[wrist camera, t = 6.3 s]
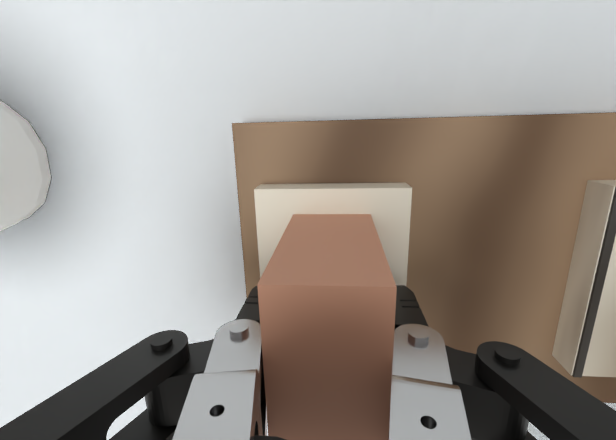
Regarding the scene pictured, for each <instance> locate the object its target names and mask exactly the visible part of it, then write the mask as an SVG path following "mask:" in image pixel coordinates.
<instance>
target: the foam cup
mask: <svg viewBox="0 0 616 440" xmlns="http://www.w3.org/2000/svg"><path fill="white" fill-rule="evenodd" d="M50 181H51V174H50V169H49V163H48V158H47V153H46V149H45V147H44V146H43V144H42V142H41V141H40V139H39V138H38V136H37V134H36V133H35V131H34V130H33V128H32V126H31V125H30V123H29V122H28V121H27V120H26V119H24V118H23V117H22V116H21V115H19V114H18V113H17V112H15V111H14V110H13V109H12V108H10V107H9V106H8V105H6V104H5V103H4V102H2V101H0V231H3V230H5V229H7V228H9V227H11V226H13V225H15V224H18V223H19V222H20V221H21V220H24V219H27V218H29V217H30V216H31V215H32V214H33V213H34V212H35V211H36V210H37V209H38V208H40V207H41V206H42V205H43V204H44V203H45V200H46V196H47V193H48V189H49V185H50Z"/></svg>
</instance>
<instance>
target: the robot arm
mask: <svg viewBox="0 0 616 440" xmlns="http://www.w3.org/2000/svg"><path fill="white" fill-rule="evenodd" d="M396 286H397V291H396V310H395V330H394V349H393V359H392V374H391V397H390V418H389V433H388V440H537V439H536V438H535V437H533V436H532V435H531V434H530V433H529V432H528V431H527V428H528V423H529V422H531V423H532V424H533V425H534V426H535V427H536V428H538V429H539V430H540V431H541V432H542V433H543V434H544V435H546V436H547V437H548V438H549V439H550V440H616V411H615V410H613V409H612V408H610V407H609V406H607V405H606V404H604V403H603V402H601V401H600V400H598V399H597V398H595V397H594V396H592V395H591V394H589V393H588V392H586V391H585V390H583V389H582V388H580V387H579V386H577V385H576V384H574V383H573V382H571V381H570V380H568V379H567V378H565V377H564V376H562V375H561V374H559V373H558V372H556V371H555V370H553V369H552V368H550V367H549V366H547V365H546V364H544V363H543V362H541V361H540V360H538V359H537V358H535V357H534V356H532V355H531V354H529V353H528V352H526V351H525V350H523V349H521V348H519V347H517V346H514V345H512V344H508V343H504V342H498V341H489V342H484V343H482V344H480V345H479V346H478V348H477V353H476V354H473V353H469V352H465V351H461V350H457V349H454V348H451V347H449V346H446V345H445V343H444V339H443V337H442V336H441V335H440V333H438V332H437V331H436V330H434V329H432V328H430V327H429V326H428V324H427V322H426V319H425V317H424V315H423V313H422V310H421V308H420V306H419V304H418V301H417V299H416V297H415V295H414V292H413V291H411V290H410V289H409V288H407V287H406V286H405V285H396ZM144 396H145V400H146V406H147V409H146V410H145V411H144V412H142V413H141V414H140V415H139V416H137V417H136V418H135V419H134V420H133V421H131V422H130V423H129V424H128V425H126V426H125V427H124V428H123V429H122V430H120V431H119V432H118V433H117V434H115V435H114V436H113V437H112V438H111V439H109V440H286V439H283V438H280V437H277V436H267V409H266V396H265V382H264V369H263V355H262V342H261V328H260V315H259V302H258V288H257V286H255V287H254V288H253V289H252V290H251V292H250V294H249V295H248V298H247V299H246V301H245V304H244V305H243V307H242V309H241V311H240V312H239V314H238V316H237V318H236V320H233V321H230V322H228V323H226V324H224V325H222V326H221V327H220V328H219V329H218V330H217V332H216V334H215V338H214V339H213V340H209V341H204V342H199V343H193V344H188V338H187V335H186V334H185V333H183V332H181V331H176V330H168V331H162V332H158V333H156V334H153V335H151V336H149V337H147V338H145V339H144V340H142V341H141V342H139V343H137V344H136V345H134V346H132V347H131V348H129V349H128V350H126V351H124V352H123V353H121V354H119V355H118V356H116V357H115V358H113V359H111V360H110V361H108V362H107V363H105V364H103V365H102V366H100V367H98V368H97V369H95V370H94V371H92V372H90V373H89V374H87V375H85V376H84V377H82V378H81V379H79V380H77V381H76V382H74V383H72V384H71V385H69V386H68V387H66V388H64V389H63V390H61V391H59V392H58V393H56V394H55V395H53V396H51V397H50V398H48V399H47V400H45V401H43V402H42V403H40V404H38V405H37V406H35V407H34V408H32V409H30V410H29V411H27V412H25V413H24V414H22V415H21V416H19V417H17V418H16V419H14V420H12V421H11V422H9V423H8V424H6V425H4V426H3V427H1V428H0V440H106V435H107V432H108V429H109V427H110V426H111V424H112V423H113V421H114V420H115V419H116V418H117V417H118V416H120V415H121V414H122V413H124V412H125V411H126V410H127V409H129V408H130V407H131V406H133V405H134V404H135V403H136V402H138V401H139V400H140V399H141V398H143V397H144Z"/></svg>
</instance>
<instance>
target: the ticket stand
mask: <svg viewBox="0 0 616 440" xmlns="http://www.w3.org/2000/svg"><path fill="white" fill-rule="evenodd" d="M232 130H233V141H234V153H235V165H236V177H237V189H238V200H239V212H240V224H241V236H242V248H243V259H244V271H245V283H246V295H247V298H248V295H249V294H250V292H251V290H252V289H253V288H254V287H255V286H257V284H258V282H259V280H260V268H259V254H258V240H257V226H256V212H255V198H254V189H255V188H256V187H258V186H259V185H260V184H323V183H407V184H408V185H409V186H411V187H412V200H411V217H410V233H409V250H408V266H407V283H406V287H407V288H409V289H410V290H411V291H413V292H414V295H415V297H416V299H417V301H418V304H419V306H420V308H421V310H422V313H423V315H424V317H425V319H426V322H427V324H428V326H429V327H430V328H432V329H434V330H436V331H437V332H438V333H440V335H441V336H442V337H443V339H444V343H445V345H446V346H449V347H451V348H454V349H457V350H461V351H465V352H469V353H473V354H476V353H477V348H478V346H479V345H480V344H482V343H484V342H489V341H498V342H504V343H508V344H512V345H514V346H517V347H519V348H521V349H523V350H525V351H526V352H528V353H529V354H531V355H532V356H534V357H535V358H537V359H538V360H540V361H541V362H543V363H544V364H546V365H547V366H549V367H550V368H552V369H553V370H555V371H556V372H558V373H559V374H561V375H562V376H564V377H565V378H567V379H568V380H570V381H571V382H573V383H574V384H576V385H577V386H579V387H580V388H582V389H583V390H585V391H586V392H588V393H589V394H591V395H592V396H594V397H595V398H597V399H598V400H600V401H601V402H604V403H616V113H580V114H545V115H509V116H474V117H438V118H403V119H368V120H332V121H297V122H261V123H232Z"/></svg>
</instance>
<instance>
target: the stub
mask: <svg viewBox="0 0 616 440" xmlns="http://www.w3.org/2000/svg"><path fill="white" fill-rule="evenodd" d="M254 198H255V212H256V226H257V240H258V254H259V268H260V280H259V282H258V284H257V288H258V302H259V315H260V328H261V342H262V355H263V369H264V382H265V396H266V409H267V423H268V436H277V437H280V438H283V439H286V440H388V433H389V418H390V397H391V374H392V359H393V349H394V330H395V310H396V291H397V286H396V285H405V286H406V283H407V266H408V250H409V233H410V217H411V200H412V187H411V186H409V185H408V184H407V183H323V184H260V185H259V186H258V187H256V188H255V189H254Z"/></svg>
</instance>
